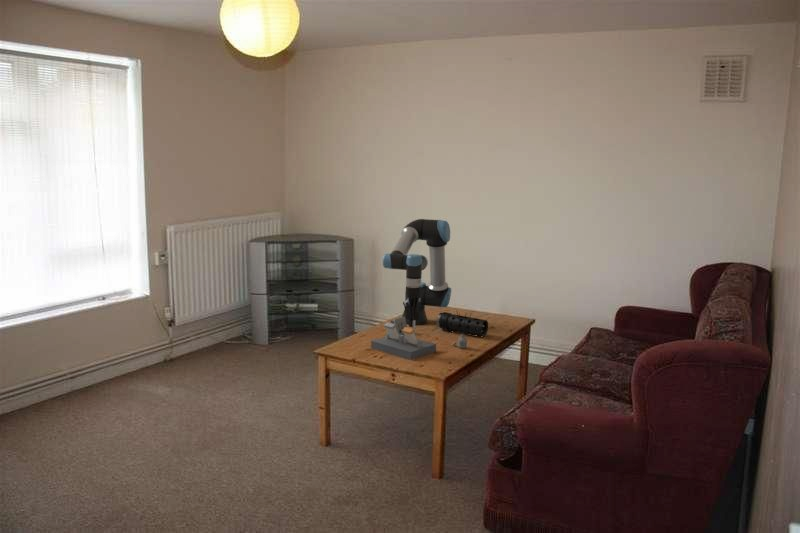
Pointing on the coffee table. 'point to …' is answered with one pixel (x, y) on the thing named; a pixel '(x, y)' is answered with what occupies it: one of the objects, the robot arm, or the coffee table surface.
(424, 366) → the coffee table surface
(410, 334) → the breaker
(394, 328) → the breaker
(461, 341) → the reed diffuser
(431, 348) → the breaker panel
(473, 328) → the muzzle brake
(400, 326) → the electrical switch
